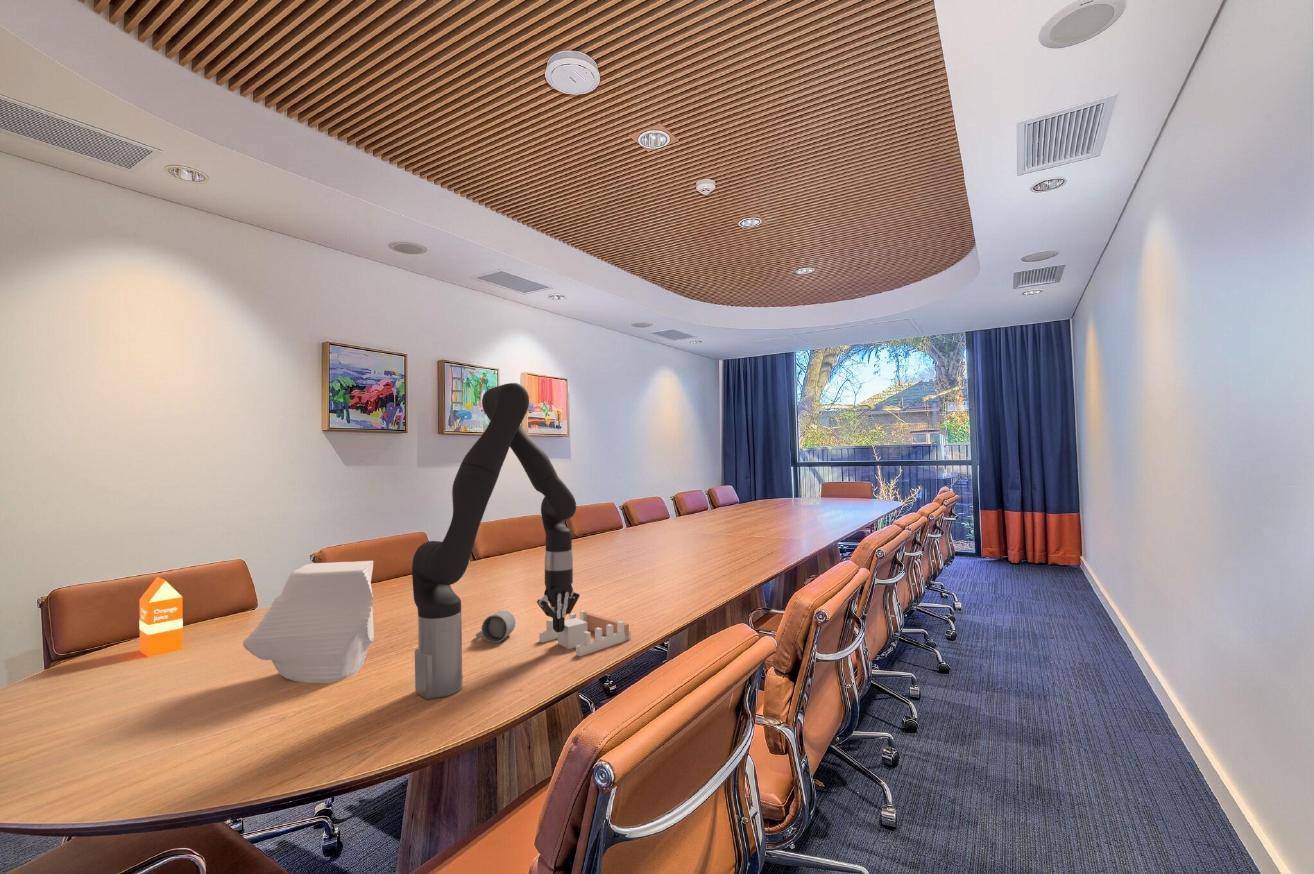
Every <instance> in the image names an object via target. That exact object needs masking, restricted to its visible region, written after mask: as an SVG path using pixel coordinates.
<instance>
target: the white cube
mask: <svg viewBox="0 0 1314 874" xmlns="http://www.w3.org/2000/svg"><path fill="white" fill-rule="evenodd" d="M585 631H588V632H589V630H588V629H587V622H585V621H583V620H580V618H578V617H576V618H573V619H565V627H564V629H563V631H562V632H559V633H558V638H557V645H560V646H562V647H563V648H565V649H567V650H572V649H574V648H575V649H576V646H577V645H580V644H583V632H585Z"/></svg>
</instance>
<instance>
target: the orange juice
mask: <svg viewBox="0 0 1314 874" xmlns="http://www.w3.org/2000/svg"><path fill="white" fill-rule="evenodd" d="M183 611H184V610H183V596H182V595H181V594H180V593H179V592H178V591H177V590H176V589H175V588H174V587H173V586H172V585H171V584H170V583H169V582H168V581H167V580H166V579H163V578H162V577H159V576H156V578H155V579H154V581H152V583H151V584H150V585H149V587H148V588H147V589H146V591H145V592H144V593H143V594H142V596H141V597H140V598H139V621H138V623H139V651H140V653H142V654H143V655H145V656H146V657H148V658H150V657H154V656H155V657H156V656H159V655H163V654H167V653H173V652H177V651H181V650H184V649H183V646H184V645H183V644H184V643H183V641H184V640H183V637H184V636H183V633H184V632H183V631H184V629H183V627H184V626H183V625H184V621H183V620H184V619H183Z"/></svg>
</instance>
